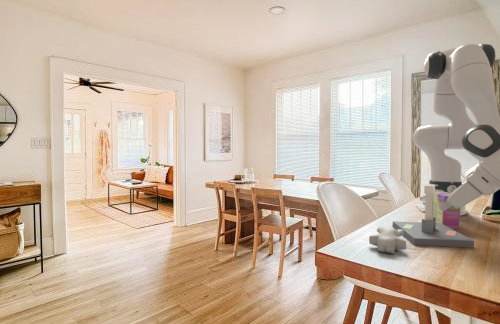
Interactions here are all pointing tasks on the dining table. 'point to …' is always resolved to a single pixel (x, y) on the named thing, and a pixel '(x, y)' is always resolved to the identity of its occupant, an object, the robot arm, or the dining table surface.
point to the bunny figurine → (388, 240)
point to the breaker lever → (429, 201)
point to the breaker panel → (432, 234)
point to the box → (447, 216)
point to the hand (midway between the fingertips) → (441, 208)
